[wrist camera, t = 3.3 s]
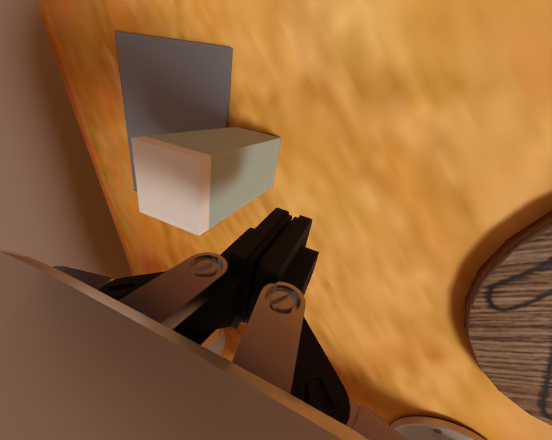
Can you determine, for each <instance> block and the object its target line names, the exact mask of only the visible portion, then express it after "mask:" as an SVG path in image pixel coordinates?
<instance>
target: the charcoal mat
mask: <svg viewBox="0 0 552 440" xmlns="http://www.w3.org/2000/svg"><path fill="white" fill-rule="evenodd" d="M115 38H116V46H117V54H118V62H119V70H120V78H121V86H122V94H123V102H124V110H125V118H126V126H127V134H128V142H129V150H130V158H131V166H132V174H133V182H134V190H135V191H137V184H136V175H135V167H134V158H133V150H132V142H131V138H133V137H143V136H152V135H162V134H171V133H181V132H190V131H200V130H209V129H219V128H228V114H229V99H230V83H231V68H232V52H233V48H230V47H225V46H218V45H211V44H204V43H197V42H190V41H183V40H176V39H169V38H162V37H155V36H148V35H141V34H134V33H127V32H120V31H115ZM220 222H221V221H220ZM220 222H219V223H220Z"/></svg>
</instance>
